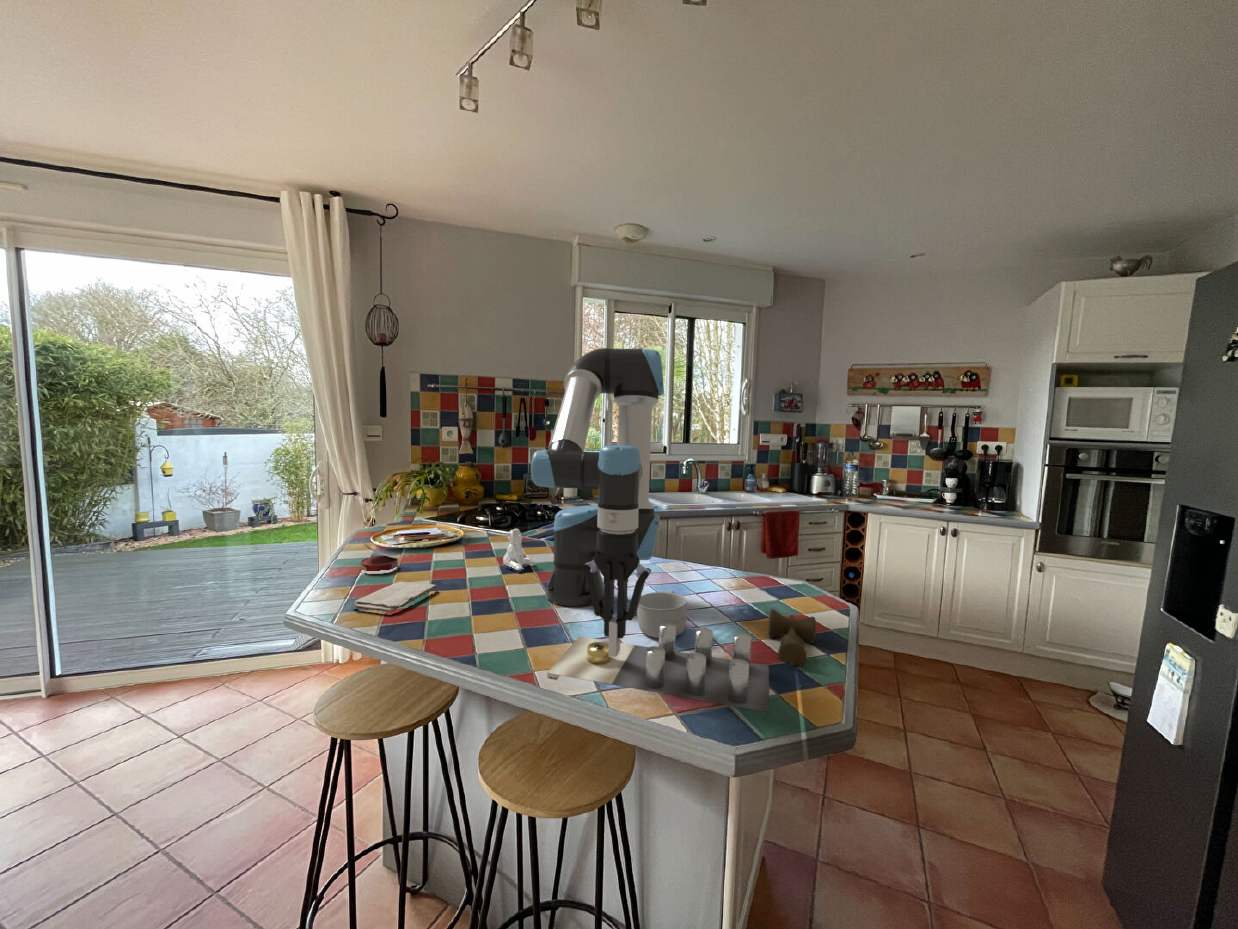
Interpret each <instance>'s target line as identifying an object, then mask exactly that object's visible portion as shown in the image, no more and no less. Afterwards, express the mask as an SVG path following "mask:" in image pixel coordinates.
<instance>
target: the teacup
mask: <svg viewBox="0 0 1238 929" xmlns="http://www.w3.org/2000/svg"><path fill="white" fill-rule="evenodd" d="M687 604H688V600H687V598H686V597H685V596H684V595H681V594H678V593H675V591H674V590H670V589H669V590H667V591H666V592H665V591H664V592H663V591H656V592H655V591H654V592H650V593H649V592H648V593H645V594H641V598H640V601H639V605H638V608H637V612H636V614H637V623H638V627H639V630H640V631H641V632H642V633H643V634H645V636H648V637H650V638H652V639H653V638H654V639H658V640H659V625H660V624H661V623H672V624H675V625H676V637H677V636H679V635H680V634H682V633H683V632H684V631H685V629H686V626H687V614H688V613H687Z"/></svg>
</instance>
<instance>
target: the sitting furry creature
mask: <svg viewBox="0 0 1238 929" xmlns="http://www.w3.org/2000/svg"><path fill="white" fill-rule="evenodd" d="M505 537H507V539H508V541H509V543H510V544H508V546H507V549H506V553H505V554H504V556H503V558H502V560H503V562H502V563H503V565H504V564H505V565H507V566H509V567H512V568H514V569H516V570H521V569H523V570H524V568H523V567H522V565H523V564H534V565H535V563H536V562H535V559H532V558H531V557H524V550H523V546H522V540H523V536H522V533H521V531H520V529H519V528H514V529H510V531H508V532H506V533H505ZM534 562H535V563H534Z"/></svg>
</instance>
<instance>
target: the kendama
mask: <svg viewBox="0 0 1238 929" xmlns="http://www.w3.org/2000/svg"><path fill="white" fill-rule="evenodd" d="M767 629H768V635H767V636H768V638H771V639H772V638H775V637H778V636H780V635H784V636H783V637H781V639H780V641H779V642H780V643H779V648H778V651H777V652H778V653H777V654H778V659H779V660H780V661H782V662H786V663H790V664H793V667H794V668H795V667H796V668H799V667H802V666H803V665H804V664H805V663H806V660H807V651H806V649H805V642H807V643H809V644H811V645H813V644H814V643H815V639H816V634H817V620H816V617H814V616H809V617H805V618H802V619H801V618H800V619H796V618H794V615H793V614H790V615H789V617H786V616H785V615H782V614H781V613H780V612H778V611H777V610H775V609H774V608H771V609H770V611H769V616H768V627H767Z"/></svg>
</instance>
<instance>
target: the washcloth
mask: <svg viewBox="0 0 1238 929" xmlns="http://www.w3.org/2000/svg"><path fill="white" fill-rule="evenodd" d="M436 588H438V589H439V586H438V585H437V584H432V583H431V584H429V583H415V582H409V581H398V582H395V583H392V584H391V585H388V586H385V587H383V588H380V589H378V590H375V591H374V592H372V593H370V594H367V595H365V596H363V597H360V598H358V599H356V600H355V601H353V603H352V605H353V606H354V607H356V608H357V607H358V608H360V609H364V610H368V609H371V610H377V611H383V612H391V611H395V610H396V609H397V608H399V607H403V606H405V605H406V604H408V603H409V602H411V601H415V599H417V598H418V597H421V596H422V595H426V593H429V592H430V591H431V590H433V589H436Z"/></svg>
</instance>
